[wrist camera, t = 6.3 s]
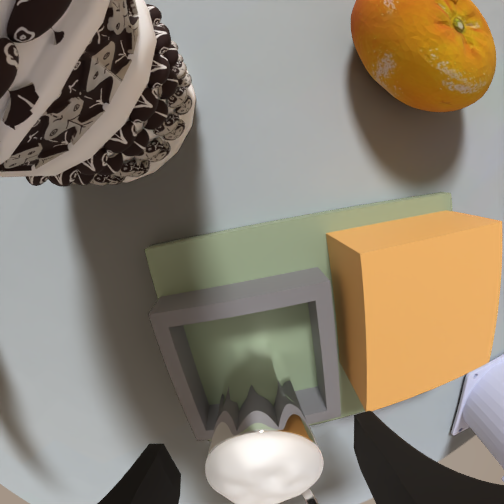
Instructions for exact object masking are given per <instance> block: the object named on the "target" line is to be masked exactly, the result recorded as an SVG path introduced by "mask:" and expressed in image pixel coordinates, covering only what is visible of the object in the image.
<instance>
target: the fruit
mask: <svg viewBox="0 0 504 504" xmlns="http://www.w3.org/2000/svg"><path fill="white" fill-rule="evenodd" d="M351 32H352V38H353V42H354V45H355V48H356V50H357V52H358V55H359V57H360V59H361V60H362V63H363V64H364V66H365V68H366V70H367V71H368V72H369V74H370V75H371V76H372V78H373V79H374V80H375V81H376V82H377V83H379V84H380V85H381V86H382V87H383V88H384V89H385V90H387V91H388V92H389V93H390V94H391V95H392V96H393V97H395V98H396V99H398V100H399V101H401V102H403V103H405V104H406V105H408V106H411V107H414V108H417V109H420V110H425V111H431V112H449V111H455V110H459V109H462V108H465V107H467V106H469V105H471V104H473V103H475V102H476V101H477V100H479V99H480V98H481V97H482V96H483V95H484V94H485V92H486V91H487V90H488V88H489V86H490V84H491V82H492V79H493V76H494V73H495V67H496V50H495V45H494V41H493V37H492V34H491V32H490V29H489V27H488V25H487V22H486V20H485V19H484V17H483V16H482V14H481V13H480V11H479V9H478V8H477V7H476V6H475V5H474V4H473V2H472V1H471V0H356V2H355V5H354V8H353V11H352V14H351Z"/></svg>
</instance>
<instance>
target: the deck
mask: <svg viewBox="0 0 504 504" xmlns="http://www.w3.org/2000/svg"><path fill="white" fill-rule="evenodd" d="M145 254H146V258H147V262H148V266H149V269H150V273H151V277H152V280H153V284H154V288H155V291H156V295H157V298H158V301H157V302H156V304H155V305H154V307H153V308H152V310H151V311H150V313H149V314H148V316H149V319H150V322H151V325H152V328H153V331H154V334H155V337H156V340H157V343H158V346H159V348H160V351H161V354H162V357H163V360H164V362H165V365H166V368H167V370H168V373H169V376H170V378H171V381H172V383H173V386H174V388H175V391H176V393H177V396H178V398H179V401H180V403H181V406H182V408H183V410H184V413H185V415H186V417H187V420H188V422H189V424H190V427H191V429H192V431H193V433H194V435H195V438H196V440H209V441H211V439H212V435H213V431H214V427H215V423H216V419H217V415H218V410H219V405H220V400H221V395H222V390H223V385H224V380H225V375H226V370H227V366H228V363H229V361H230V359H231V357H232V355H233V353H234V351H236V350H238V349H240V348H242V347H244V346H246V345H247V344H249V343H253V344H268V345H269V346H270V347H272V348H273V349H274V350H276V351H277V352H278V353H280V354H281V356H282V359H283V361H284V364H285V367H286V369H287V372H288V375H289V377H290V380H291V382H292V385H293V388H294V390H295V393H296V395H297V398H298V401H299V403H300V406H301V408H302V410H303V413H304V415H305V417H306V419H307V422H308V424H309V426H310V425H314V424H319V423H323V422H327V421H331V420H335V419H339V418H342V417H346V416H350V415H353V414H357V413H360V412H363V411H366V412H367V411H374V410H377V409H380V408H383V407H386V406H389V405H392V404H395V403H398V402H400V401H403V400H406V399H408V398H411V397H414V396H416V395H419V394H421V393H424V392H426V391H429V390H431V389H434V388H436V387H438V386H441V385H443V384H445V383H448V382H450V381H452V380H454V379H456V378H459V377H461V376H463V375H465V374H467V373H469V372H471V371H473V370H475V369H477V368H479V367H481V366H483V365H485V364H487V363H489V360H490V355H491V350H492V345H493V339H494V333H495V327H496V320H497V313H498V305H499V295H500V284H501V268H502V221H498V220H494V219H489V218H484V217H479V216H474V215H469V214H464V213H458V212H453V211H452V200H451V193H445V192H440V193H433V194H427V195H420V196H414V197H407V198H401V199H395V200H389V201H383V202H377V203H371V204H365V205H359V206H353V207H347V208H342V209H336V210H330V211H325V212H319V213H313V214H308V215H302V216H297V217H292V218H286V219H281V220H276V221H270V222H265V223H260V224H255V225H249V226H244V227H239V228H234V229H229V230H224V231H219V232H214V233H209V234H204V235H199V236H194V237H190V238H185V239H180V240H175V241H171V242H166V243H161V244H156V245H152V246H149V247H147V248H146V249H145Z"/></svg>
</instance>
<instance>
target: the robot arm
mask: <svg viewBox="0 0 504 504" xmlns="http://www.w3.org/2000/svg"><path fill="white" fill-rule="evenodd" d="M468 428H471V429H472V430H473V431H474V433H475V434H476V435H477V436H478V437H479V439H480V440H481V441H482V442H483V444H484V445H485V446H486V447H487V449H488V450H489V451H490V452H491V454H492V455H493V456H494V457H495V459H496V460H497V461H498V462H499V464H500V465H501V466H502V467H503V469H504V354H503V355H501V356H499V357H498V358H496V359H494V360H492V361H490V362H489V363H487V364H485V365H483V366H481V367H479V368H477V369H475V370H473V371H471V372H469V373H468V374H467V375H466V377H465V381H464V385H463V390H462V394H461V398H460V402H459V406H458V410H457V414H456V417H455V421H454V424H453V428H452V431H451V434H452V435H456V434H458V433H460V432H462V431H464V430H466V429H468ZM354 450H355V454H356V457H357V460H358V463H359V466H360V469H361V472H362V474H363V476H364V478H365V480H366V483H367V485H368V487H369V489H370V491H371V493H372V495H373V498H374V500H375V502H376V504H504V485H499V484H493V483H489V482H485V481H481V480H478V479H475V478H472V477H469V476H466V475H464V474H461V473H458V472H456V471H454V470H452V469H449V468H447V467H445V466H443V465H441V464H439V463H437V462H436V461H434V460H432V459H430V458H429V457H427V456H426V455H424V454H423V453H421V452H419V451H418V450H417V449H415V448H414V447H412V446H411V445H410V444H408V443H407V442H406V441H404V440H403V439H402V438H401V437H399V436H398V435H397V434H396V433H394V432H393V431H392V430H391V429H390V428H389V427H388V426H386V425H385V424H384V423H383V422H382V421H381V420H380V419H379V418H378V417H377V416H376V415H375V414H374V413H373V412H372V411H367V412H363V413H360V414H357V415H354ZM502 480H503V482H504V476H503V477H502ZM180 484H181V473H180V472H179V470H178V468H177V467H176V465H175V463H174V461H173V460H172V458H171V456H170V455H169V453H168V451H167V449H166V447H165V446H164V444H149V445H148V446H147V448H146V449H145V450H144V451H143V453H142V454H141V455H140V456H139V458H138V459H137V460H136V462H135V463H134V464H133V465H132V467H131V468H130V469H129V470H128V472H127V473H126V474H125V475H124V476H123V478H122V479H121V480H120V481H119V482H118V483H117V484H116V486H115V487H114V488H113V489H112V490H111V491H110V492H109V493H108V494H107V495H106V496H105V497H104V498H103V499H102V500H101V501H100V502H99V503H98V504H178V503H179V497H180Z"/></svg>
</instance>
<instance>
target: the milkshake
mask: <svg viewBox="0 0 504 504" xmlns="http://www.w3.org/2000/svg"><path fill="white" fill-rule="evenodd" d="M322 470H323V456H322V453H321V451H320V449H319V446H318V444H317V442H316V440H315V437H314V435H313V433H312V431H311V428H310V426H309V424H308V422H307V419H306V417H305V415H304V413H303V410H302V408H301V406H300V403H299V401H298V398H297V395H296V393H295V390H294V388H293V385H292V382H291V380H290V377H289V375H288V372H287V369H286V367H285V364H284V361H283V359H282V356H281V354H280V353H278V352H277V351H276V350H274V349H273V348H272V347H270V346H269V345H268V344H253V343H249V344H247V345H246V346H244V347H242V348H240V349H238V350H236V351H234V353H233V355H232V357H231V359H230V361H229V363H228V366H227V370H226V375H225V380H224V385H223V390H222V395H221V400H220V405H219V410H218V415H217V419H216V423H215V427H214V431H213V435H212V439H211V443H210V447H209V451H208V455H207V459H206V463H205V474H206V478H207V481H208V483H209V484H210V486H211V487H212V488H213V489H214V490H215V491H217V492H218V493H220V494H221V495H223V496H224V497H226V498H227V499H229V500H230V501H232V502H233V503H235V504H278V503H281V502H283V501H286V500H288V499H291V498H293V497H296V496H298V495H300V494H302V495H303V497H304V499H305V501H306V503H307V504H318V502H317V500H316V499H315V497H314V495H313V493H312V491H311V489H310V487H311V486H312V485H313V484H314V483H315V482H316V481H317V480H318V479H319V477H320V475H321V473H322Z"/></svg>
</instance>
